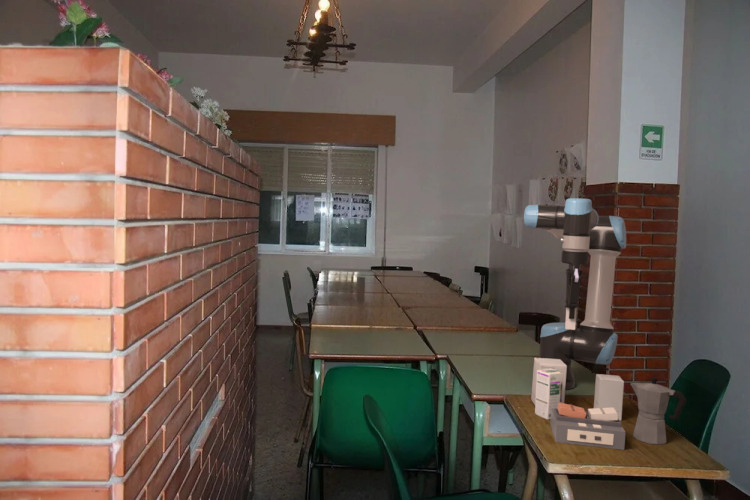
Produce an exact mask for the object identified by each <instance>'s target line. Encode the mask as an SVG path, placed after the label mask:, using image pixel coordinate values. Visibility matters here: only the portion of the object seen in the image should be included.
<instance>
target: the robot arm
mask: <svg viewBox="0 0 750 500" xmlns="http://www.w3.org/2000/svg"><path fill="white" fill-rule="evenodd" d="M564 204H565V205H547V204H528V205H527V206H525V207H524V208H525V209H524V212H523V223H524V226H525V227H526V228H530V229H541V230H542V231H543V230H544V231H546V232H548V233H551V234H552V235H553V236H554V237H555V238H556V239H558V240H560V242H562V247H561V248H562V249H564V250H562V251H561V260H560V261H561V263H562V264H567V265H568V268H566V271H565V275H566V283H565V284H566V285H565V286H566V287H565V301H564V302H565V305H564V308H565V322H549V323H546V324H543V325H542V326H541V329H540V335H539V339H540V340H539V352H538V353H539V356H538V358H549V359H560V360H561V361H562V362H563V363H564V364H566V366H567V371H566V384H565V391H566V390H572V389H574V388H575V385H576V381H575V379H576V378H575V376H574V372H573V368H572V361H578V362H579V361H580V362H586V363H592V364H595V365H609V364H611V363H612V361H613V359H614V356H615V352H616V349H617V345H618V340H619V339H618V338H619V336H618V335H619V334H617V333H615V332H614V331H615V329H614V326H613V325H612V324H611V313H612V303H613V292H614V281H615V269H616V260H617V257H619V255H621V254H622V250H624V249H626V247H627V228H626V223H625V220H624V219H623V217H621V216H615V215H599V213H598V212H597V210H595V209H594V208H593V205H592V204H593V202H592V200H591V199H589V198H577V197H576V198H575V197H572V198H571V197H570V198H567V199H566V200H565V203H564ZM589 256H590V261H589ZM588 263H589V273H588V284H587V293H586V303H585V304H586V305H585V314H584V315H585V316H584V320H583V321H581V322H580V324H579V328H576V324H577V323H576V320H577V308H578V307H579V299H580V290H581V289H580V288H581V281H582V278H583V277H582V274H583V272H582V270H581V265H582V266H583V265H588Z"/></svg>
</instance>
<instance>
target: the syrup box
mask: <svg viewBox="0 0 750 500" xmlns="http://www.w3.org/2000/svg"><path fill="white" fill-rule="evenodd" d="M562 384H563V373H562V372H560V371H558V370H555V369H551V368H550V369H543V370H537V382H536V403H535V405H534V407H535V408H534V414H535V415H537V416H538V417H540V418H543V419H545V420H546V421H547V420H551V408H553V409H554V408H558V403H559V402H561V403H562Z"/></svg>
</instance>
